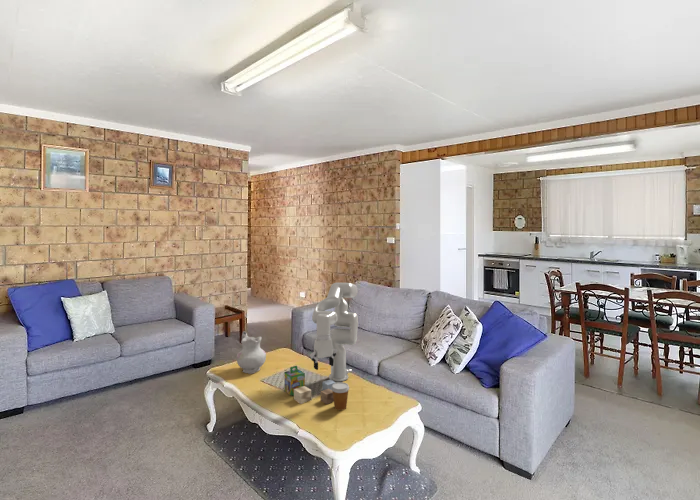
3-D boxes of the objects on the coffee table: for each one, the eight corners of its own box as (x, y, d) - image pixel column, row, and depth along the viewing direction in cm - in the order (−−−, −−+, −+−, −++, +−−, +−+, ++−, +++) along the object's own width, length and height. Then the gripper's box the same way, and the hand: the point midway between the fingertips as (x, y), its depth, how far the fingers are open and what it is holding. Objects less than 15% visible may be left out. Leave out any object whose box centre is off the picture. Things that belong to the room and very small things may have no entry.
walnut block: (328, 398, 216) (328, 388, 215) (334, 401, 211) (334, 391, 211) (320, 400, 212) (320, 391, 212) (326, 404, 208) (326, 394, 208)
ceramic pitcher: (229, 372, 257) (225, 336, 254) (251, 361, 273) (248, 327, 270) (250, 379, 245) (247, 342, 242) (273, 367, 261) (270, 332, 258)
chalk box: (291, 396, 218) (291, 371, 217) (284, 391, 225) (283, 366, 224) (305, 392, 223) (305, 367, 222) (297, 387, 230) (297, 363, 230)
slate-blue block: (330, 388, 229) (330, 379, 228) (335, 391, 224) (335, 382, 224) (322, 390, 225) (322, 381, 225) (327, 394, 221) (327, 384, 220)
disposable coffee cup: (343, 413, 198) (343, 390, 197) (328, 408, 203) (327, 386, 202) (352, 406, 206) (352, 384, 205) (338, 401, 211) (337, 380, 210)
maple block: (304, 396, 218) (304, 385, 218) (311, 400, 213) (311, 389, 213) (294, 399, 214) (293, 389, 214) (300, 404, 209) (300, 393, 208)
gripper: (333, 332, 218) (333, 362, 219) (306, 337, 208) (306, 368, 209) (340, 335, 212) (340, 366, 213) (313, 341, 202) (313, 372, 203)
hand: (323, 367), depth 211 cm, fingers open, 9 cm apart
